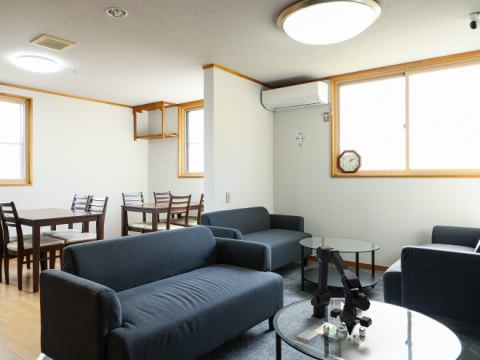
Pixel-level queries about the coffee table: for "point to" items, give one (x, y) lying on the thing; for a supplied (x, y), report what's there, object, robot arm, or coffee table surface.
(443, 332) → the coffee table surface
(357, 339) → the spacer field
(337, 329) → the gear
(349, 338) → the mat
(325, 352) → the coffee table surface
